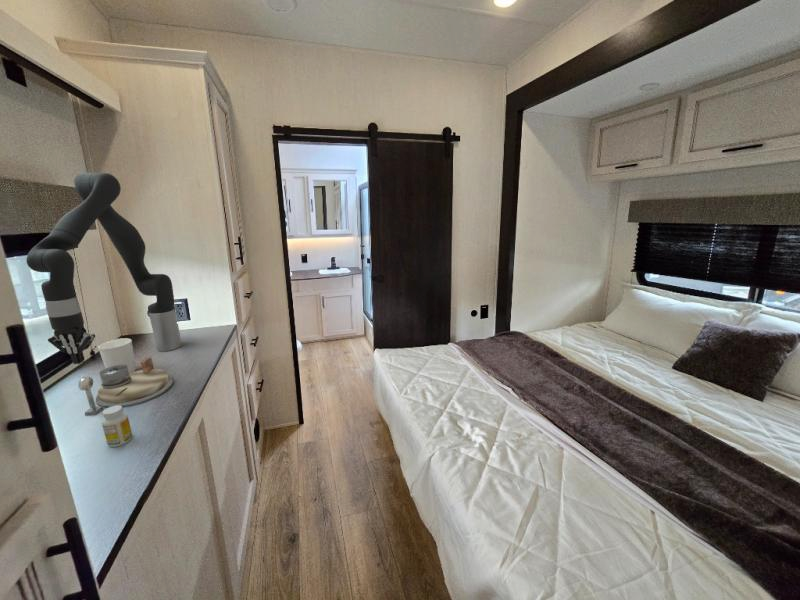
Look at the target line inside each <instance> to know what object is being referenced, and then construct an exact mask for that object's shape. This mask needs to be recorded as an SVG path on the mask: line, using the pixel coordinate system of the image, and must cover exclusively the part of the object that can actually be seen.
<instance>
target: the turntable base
mask: <svg viewBox="0 0 800 600" xmlns="http://www.w3.org/2000/svg"><path fill="white" fill-rule="evenodd" d="M168 377H169V381H168V383H167V384H166V385H165V386H164V387H163V388H161V389H160V390H158V391H156V392H154V393H152V394H150V395H148V396H145V397H142V398H139V399H136V400H132V401H127V402H120V403H107V402H103V401H101V400H100V398H99V395H98V394H97V396H95V402H96V405H97V407H98V406H103V409H107V408H109V407H112V406H117V405H119V406H122V408H127V407H131V406H136V405H140V404H143V403H146V402H148V401H151V400H153V399H155V398H158V397H160V396H161V395H162V394H164V393H166V392H168V391H169V389H170V388H171V387H172V386H173V383H174V381H173V380H174V379H173V377H172V376H171V375H170V374H168Z"/></svg>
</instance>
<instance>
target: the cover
mask: <svg viewBox="0 0 800 600" xmlns="http://www.w3.org/2000/svg"><path fill="white" fill-rule="evenodd" d="M99 376H100V379H101V386H102V388H103V389H113V388H118V387H121V386H124V385H126V384H128V383H129V382H130V381H131V380H132V379H131V376H129V372H128V368H127V366H126V365H116V366H111V367H108V368H104V369H102V370H101V371H99Z"/></svg>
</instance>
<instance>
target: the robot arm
mask: <svg viewBox="0 0 800 600" xmlns="http://www.w3.org/2000/svg"><path fill="white" fill-rule="evenodd" d="M73 185H74V188H75V190H76V192H77V193H78V195H79V196H80V198H81V200H83V201H82V202H81V203H79V204H78V205H77V206H76V207H74V208H73V209H71V210H70V211H68V212H67V213H65V214H64V215H63V216H62V217H61V218H60V219H59V220H58V221H57V222H56V224H55V226H54V227H53V228H52V230H51V231H50V233H49V234H48V235H47V236H46V237H44V238H43V239H42V240H40V241H39V242H38V243H36V245H34V246H33V247H31V249H30V251H28V253H27V256H26V265H27V266H28V268H30V270H32V271H34V272H38V273H49V275H50V276H49V279H48V280H46V281H43V282H42V284H41V287H40V288H41V291H42V295H43V298H44V301H45V309H46V312H47V316H48V319H49V323H50V327H51V329H52V330H54V332H53V336H51V337H50V338H47V342H48V343H50V344H51V345H52V346H54V347H55V348H56V349H57V350H59V352H61V353H67V354H69V356H70V359H71V363H73V364H74V365H81V364H82V363H84V361H85V356H84V351H85V350H87V349H89V348H90V346H91V345H92V343H93V341H94V340H95V338H96V335H95V334H94V333H92V334H91V333H88V331H87V329H86V328H85V326H84V324H85V321H84V317H83V313H82V310H81V306H80V303H79V301H78V298H77V294H76V291H75V288H74V276H75V261H74V258H73V257H72V255H71V254H70V253H69V251H71V250H74V249H76V248H77V247H78V246H79V245H80V243H81V242H82V240H83V239H84V237H85V236H86V233H87V232H88V231H89V229H90V228H91V227H92V225H93V224H94V223H95V222H96V220H98V222H99V224H100V225H101V226H102V228H103V230H104V231H105V233H106V234H107V236H108V238H109V239H110V241H111V243H112V244H113V246H114V248H115V249H116V251H117V253H118V254H119V255H120V257H121V258H122V260H123V262H124V264H125V265H126V267H127V269H128V271H129V273H130V275H131V277H132V279H133V282H134V284H135V286H136V288H137V289H138V291H139V292H140V293H141V294H142V295H144V296H147V297H149V296H150V297H152V296H153V297H156V302H153V303H151V304H149V305H148V306H147V312H148V316H149V319H150V325H151V329H152V334H153V339H154V342H155V346H156V347H155V348H156V351H158V352H169V351H173V350H176V349H179V348H181V346H182V338H181V333H180V328H179V324H178V321H177V315H176V312H175V311H176V310H175V296H174V289H173V283H172V279H171V277H170V276H169V275H167V274H164V273H150V272H149V270H148V268H147V267H146V265H145V262H144V261H145V257H146V256H145V254H146V243H145V241H144V239H143V238H142V236H141V234H140V232H139V230H138V229H137V228H136V226H134V225H133V224H132V223H131V222H130V221H128V220H127V219H126V218H125V217H123V216H122V215H121V214H119V213H118V212H117V210H115V208H113V206H112V204H113V203H114V202H115V201H116V200H117V199H118V197H119V196H120V194H121V187H122V186H121V184H120V182H119V180H118V179H117V177H115V176H114V175H112V174H111V173H107V172H80V173H77V174H76V175H75V176H74V178H73Z"/></svg>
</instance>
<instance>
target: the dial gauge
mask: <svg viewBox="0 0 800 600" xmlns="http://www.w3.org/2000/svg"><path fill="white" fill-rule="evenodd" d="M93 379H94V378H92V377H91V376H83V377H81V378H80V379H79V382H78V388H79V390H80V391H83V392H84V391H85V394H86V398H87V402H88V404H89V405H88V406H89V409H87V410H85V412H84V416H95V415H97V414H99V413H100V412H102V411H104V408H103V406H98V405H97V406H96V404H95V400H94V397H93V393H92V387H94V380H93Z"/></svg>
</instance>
